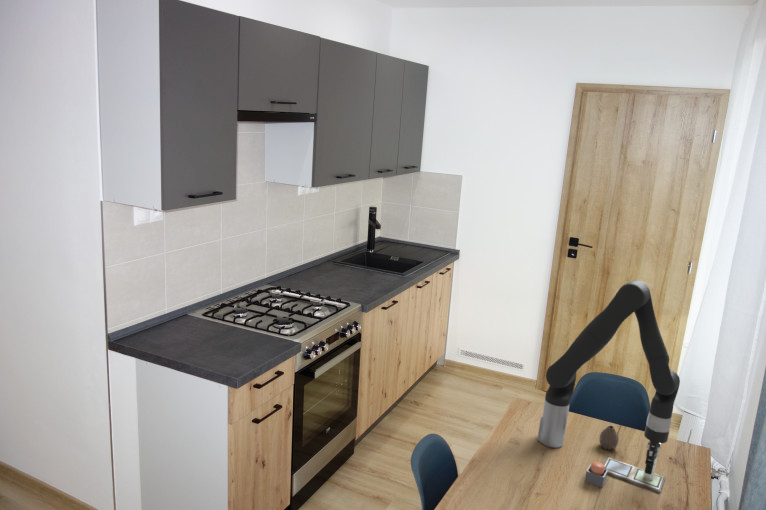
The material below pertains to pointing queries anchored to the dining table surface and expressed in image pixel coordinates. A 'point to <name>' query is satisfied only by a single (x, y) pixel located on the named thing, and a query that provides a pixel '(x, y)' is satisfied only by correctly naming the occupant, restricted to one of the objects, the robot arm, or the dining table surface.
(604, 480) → the button housing
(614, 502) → the dining table surface
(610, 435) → the vase
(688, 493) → the dining table surface
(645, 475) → the marker
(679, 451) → the dining table surface
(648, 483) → the picture board
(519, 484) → the dining table surface
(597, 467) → the button
